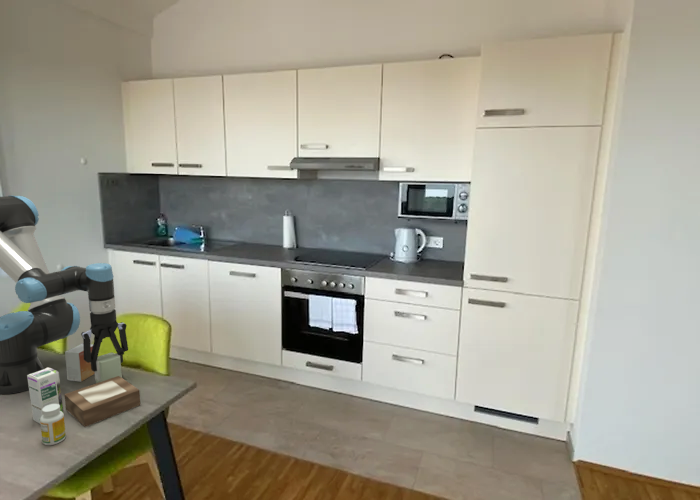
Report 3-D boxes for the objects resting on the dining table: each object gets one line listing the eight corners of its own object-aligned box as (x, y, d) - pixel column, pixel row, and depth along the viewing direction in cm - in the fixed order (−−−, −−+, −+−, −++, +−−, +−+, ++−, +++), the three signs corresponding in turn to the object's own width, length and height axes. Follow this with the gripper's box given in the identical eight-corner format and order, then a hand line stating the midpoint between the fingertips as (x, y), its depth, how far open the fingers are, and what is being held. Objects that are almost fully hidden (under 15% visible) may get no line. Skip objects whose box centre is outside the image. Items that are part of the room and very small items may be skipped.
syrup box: (43, 426, 129) (38, 379, 127) (32, 420, 132) (26, 373, 129) (64, 417, 134) (59, 371, 132) (53, 411, 137) (47, 366, 134)
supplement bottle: (40, 447, 120) (36, 414, 118) (45, 436, 125) (41, 404, 123) (64, 443, 122) (60, 410, 120) (67, 432, 127) (64, 400, 125)
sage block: (96, 382, 155) (93, 357, 153) (114, 376, 160) (112, 352, 158) (103, 388, 151) (101, 363, 149) (122, 381, 156) (120, 357, 154)
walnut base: (65, 409, 138) (64, 393, 137) (119, 389, 150) (118, 375, 149) (84, 427, 130) (83, 410, 129) (140, 404, 142) (139, 389, 141)
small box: (81, 382, 155) (78, 353, 153) (67, 380, 156) (64, 351, 154) (98, 372, 162) (96, 344, 160) (84, 370, 164) (82, 342, 162)
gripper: (75, 320, 141) (82, 389, 145) (136, 306, 155) (141, 369, 160) (66, 314, 146) (73, 382, 150) (126, 301, 160) (131, 363, 164)
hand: (108, 375), depth 155 cm, fingers closed on sage block, 6 cm apart
